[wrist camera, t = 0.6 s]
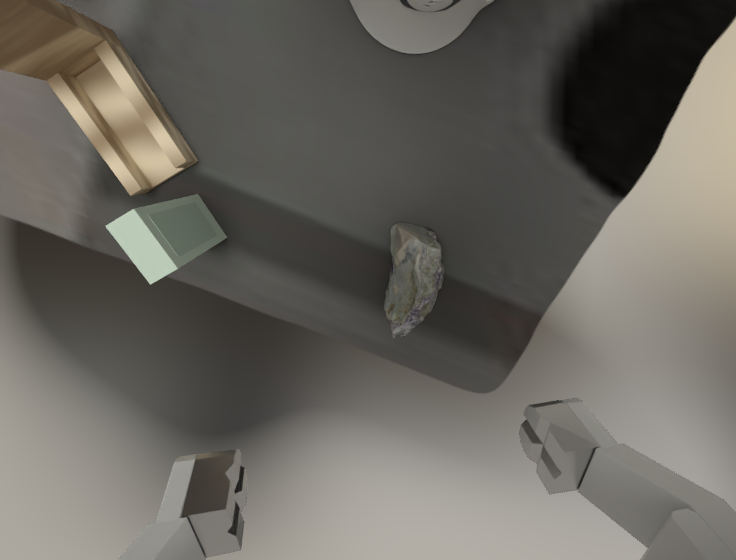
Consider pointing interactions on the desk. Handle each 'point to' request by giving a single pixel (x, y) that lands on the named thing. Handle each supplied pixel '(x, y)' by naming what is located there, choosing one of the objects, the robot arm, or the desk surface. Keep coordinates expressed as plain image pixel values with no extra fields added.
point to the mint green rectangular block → (166, 235)
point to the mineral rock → (412, 276)
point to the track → (95, 89)
